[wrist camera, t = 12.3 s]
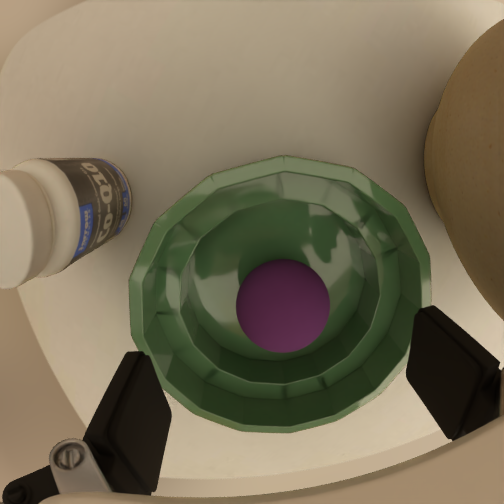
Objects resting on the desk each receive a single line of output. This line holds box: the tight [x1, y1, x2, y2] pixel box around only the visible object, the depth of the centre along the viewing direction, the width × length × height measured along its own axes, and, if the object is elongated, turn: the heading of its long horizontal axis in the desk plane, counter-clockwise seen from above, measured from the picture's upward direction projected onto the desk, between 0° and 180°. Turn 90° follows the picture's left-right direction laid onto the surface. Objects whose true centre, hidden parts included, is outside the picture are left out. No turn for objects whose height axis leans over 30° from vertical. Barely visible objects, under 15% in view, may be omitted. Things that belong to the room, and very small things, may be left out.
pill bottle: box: [0, 158, 131, 289], centre depth 11 cm, size 5×5×8 cm
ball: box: [236, 259, 330, 353], centre depth 14 cm, size 4×4×4 cm
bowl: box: [129, 155, 431, 433], centre depth 14 cm, size 13×13×5 cm
